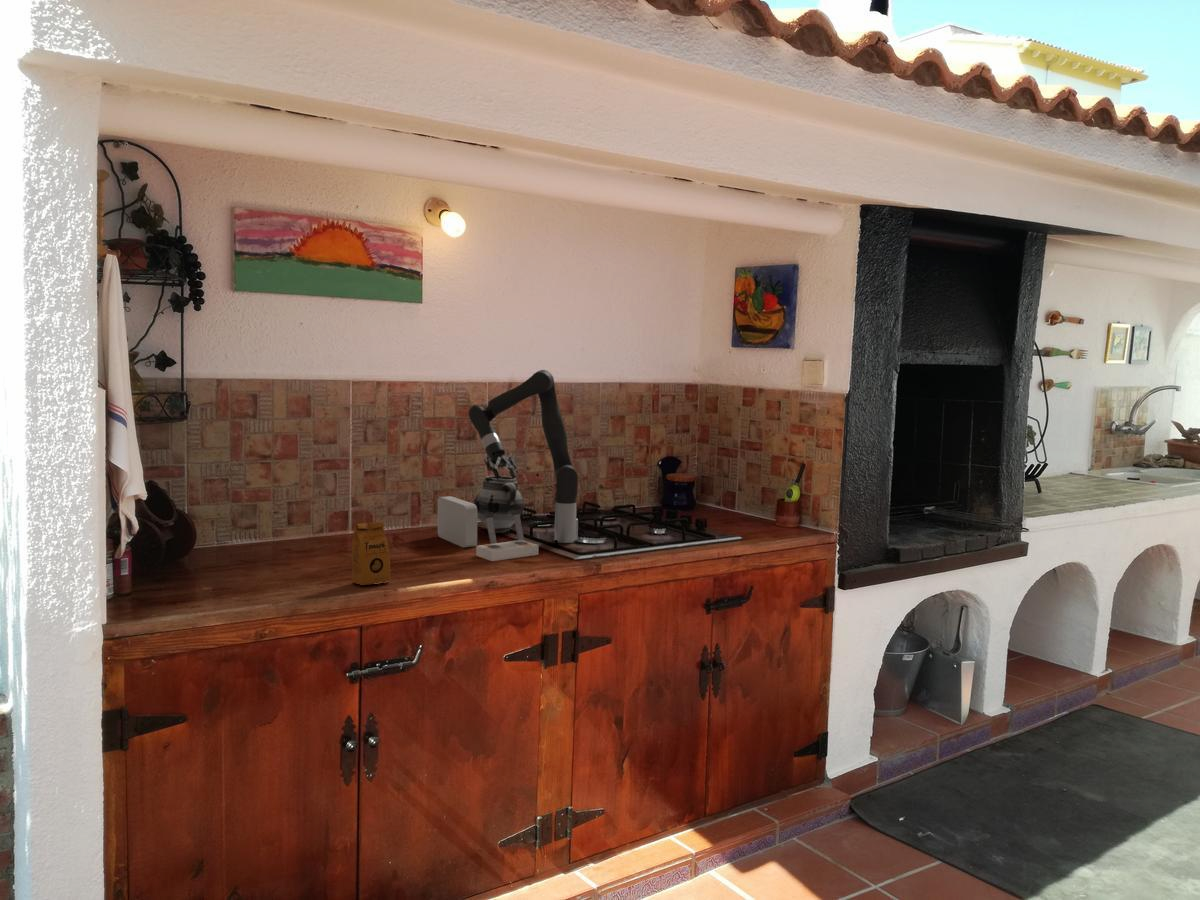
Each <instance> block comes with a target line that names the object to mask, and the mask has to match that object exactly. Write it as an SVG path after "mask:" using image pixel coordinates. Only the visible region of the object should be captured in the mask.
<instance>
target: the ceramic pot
mask: <svg viewBox="0 0 1200 900" xmlns="http://www.w3.org/2000/svg"><path fill="white" fill-rule="evenodd" d="M473 504H475V505H476V507H477V519H479V521H480V522H481V523H482V525H484V526H485V527H486V529H487V532H488V527H487V521H486V519H484V514H485V513H488V512H493V514H494V517H492V518H493V524H494V530H495V534H496V533H497V534H498V533H499V534H500V533H501V534H503V533H504V534H505V533H508V532H510V530H511V529H510V528H511V527H512V526H513V525H515V522H514V516H512V515H511V511H512V510H517V509H520V510H521V514H520V516H521V515H522V514H523V511H524V509H525V501H524V498H523V496H522V494H521V492H520V491H519V489H518V480H517V477H516V478H515V479H512V477H511V476H510V475H509V476H508V475H501V477H500V478H499V479H497V478H496V477H495V475H487V476H486V477H485V479H484V480H483V482H482V488H481V490H479V491H478V493H477V494H476V495H475V497H474V500H473ZM507 531H508V532H507Z"/></svg>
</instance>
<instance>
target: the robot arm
mask: <svg viewBox="0 0 1200 900" xmlns="http://www.w3.org/2000/svg"><path fill="white" fill-rule="evenodd" d="M556 392H557V391H556V387H555V380H554V376H553V374H552V373H551V372H550V371H549V370H545V369H540V370H538V371H536V372H534V373H533V374H532V375H531V376H530V377H529V378H528V379H526V380H525V381H524V382H522V383H520V384H519V385H518V386H516V387H514V388H511V389H509V390H506V391H505V392H502V393H501V394H499V395H497V396H495V397H493V398H492V399H490V400H489V401H488V406H486V407H482V406H481V405H478V404H475V405H473V406H471V407H470V409H469V410H468V417H469V420H470V422H471V423H472V425H473V427H474V429H476V431H477V433H478V435H479V438H480V440H481V443H482V446H483V448H484V451H485V453H486V455H487V456H486V457H485V458H484V459H483V460H484V463H485V466H486V468H487V471H489V472H490V471H491V472H492V473H493V474H494V475H493V476H495V477H496V478H497V479H499V478H500V477H501V476H502V475H501V473H500V471H499V469H498V468H503V469H505V470H507V471H508V472H509V474H510V477H512V479H515V478H516V479H517V472H516V471H515V470H516V469H517V468H518V466H517V463H516V462H515V460H514V458H513V456H512V455H511V456H510V455H509V456H508V457H507V456H506V452H505V451H506V450H505V448H504V446H503V444H502V442H501V439H500V437H499V435H498V434H497V432H496V429H495V428H494V425H493V424H492V423H491V421H493V420H494V419H495V418H496V417H497V416H498V415H499V414H502V413H503V412H505V411H507V410H509V409H511V408H513V407H514V406H515V405H518V404H519V403H520V402H522V401H524V400H526V399H528V398H530V397H533V396H535V395H538V398H539V402H540V409H541V413H540V414H541V426H542V429H543V433H544V434H543V435H544V437H545V440H546V444H547V445H548V449H549V451H550V454H551V458H552V464H553V470H554V478H555V480H556V485H555V499H554V502H555V504H554V507H555V508H554V541H555V540H557V541H558V542H557V543H560V544H569V543H575V542H576V541H575V540H579V539H578V538H579V535H578V534H579V533H578V531H579V519H578V518H577V498H578V489H579V488H578V483H579V477H578V475H579V474H578V472H577V471H576V469H575V467H574V465H573V464H572V463H573V462H572V460H571V457H570V454H569V450H568V437H567V430H566V428H565V426H566V425H565V422H564V419H563V416H562V413H561V408H560V406H559V403H558V399H557V394H556ZM574 541H575V542H574Z"/></svg>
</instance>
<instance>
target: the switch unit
mask: <svg viewBox="0 0 1200 900" xmlns="http://www.w3.org/2000/svg"><path fill="white" fill-rule="evenodd" d="M475 547H476V550H475V551H476V553H475V554H476V557H479V558H482V559H485V560H487V561H490V562H497V561H503V560H510V559H517V558H518V559H519V558H525V557H526V558H527V557H530V556H537V555H538V556H539V544H537V543H534V542H529V541H527V540H525V539H524V540H519V541H518V539H517V540H509V541H505V542H504V541H503V542H497V543H495V544H490V543H487V544H486V543H485V544H482V545H476V546H475Z"/></svg>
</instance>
